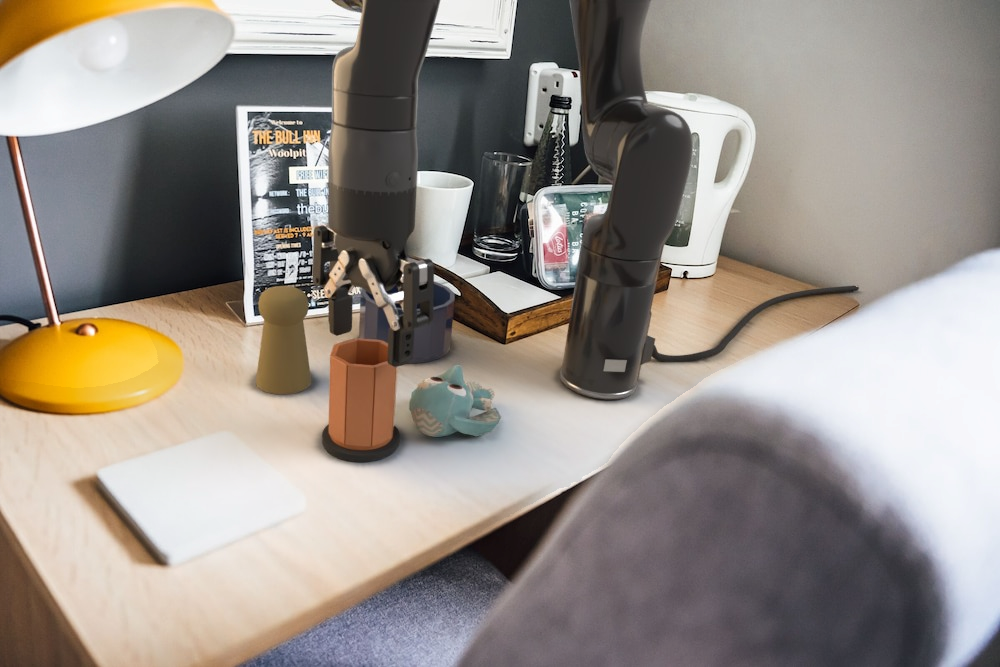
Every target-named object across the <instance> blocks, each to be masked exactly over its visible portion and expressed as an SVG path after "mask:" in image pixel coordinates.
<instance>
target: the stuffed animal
mask: <svg viewBox="0 0 1000 667" xmlns="http://www.w3.org/2000/svg"><path fill="white" fill-rule="evenodd" d="M494 397H495V391H494V390H493V388H491V387H483V386H482V385H481V384H480V383H478V382H477V383H476V382H475V381H473V380H470V381H467V382H465V380H464V371H463V367H462V365H460V364H455V365H453V366H451V367H450V368H449V369H447V370H446V371H445V372H443V373H442V374H439V375H437V376H430V377H428V378H425V379H423V380H421V382H420V383H418V384H417V386H416V388H415V389H413V390H412V391H411V396H410V399H409V403H408V410H409V411H410V414H411V417H412V420H413V423H414V425H415V427H416V429H418V430H419V431H420V432H421V433H422V434H424V435H426V436H429V437H434V438H440V437H447V436H450V435H452V434H455V433H457V432H459V433H461V434H464V435H470V436H474V437H479V436H482V435H486V434H488V433H491V432H493V430H494V429H495V428H496V427H497V425H498V424H500V422H501V420H502V416H501V414H500V412H499V410H498V409H497V408H496V407H494V408H493V402H492V400H493V399H494ZM472 409H476V410H478V411H483V412H481V413H478V414H477V415H474V416H471V417H470V415H471V413H472Z"/></svg>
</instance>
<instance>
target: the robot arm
mask: <svg viewBox="0 0 1000 667" xmlns="http://www.w3.org/2000/svg"><path fill="white" fill-rule="evenodd" d="M331 1H332V2H333V3H334V4H335V5H337V6H338V7H339V8H342V9H345V10H347V11H350V12H353V13H354V12H355V13H359V14H360V13H361V15H360V21H359V26H358V31H357V36H356V40H355V43H354V45H351V46H348V47H344V48H343V49H341V50H339V51H338V52H337V53H336V55H335V57H334V59H333V63H332V70H331V124H330V126H331V128H330V134H329V141H328V151H327V152H328V154H327V156H328V160H327V162H328V168H327V169H328V173H327V174H328V178H327V179H328V180H327V182H328V183H327V188H328V189H327V193H328V195H327V196H328V197H327V198H328V201H327V203H328V204H327V210H328V211H327V216H328V217H327V224H322V225H317V226H315V227H314V229H313V250H312V251H313V253H312V282H313V284H314V286H316V287H320V286H321V288H323V293H324V295H325V296H326V298H327V300H328V304H327V305H328V308H327V309H328V316H327V317H328V318H327V320H328V321H327V322H328V326H329V333H330V334H332V335H333V336H336V337H339V336H342V335H345V334H348V333H350V332H351V331H352V329H353V301H354V300H353V298H354V297H353V295H351V294H349V293H351V292H352V291H353V290H354V289H355V288H361V289H362V288H363V289H364V290H365V291H367V292H368V293H370V294H372V295H373V297H374V299H375V302H376V304H377V306H378V307H379V308H382V309H383V310H384V312H385V315H386V317H387V320H388V322H389V325H390V327H391V328H389V333H388V360H387V361H388V364H390V365H392V366H393V367H397V366H398V367H400V366H403V365H405V364H409V363H408V362H409V361H410V359H411V358H412V356H413V344H414V330H415V329H417V328H420V327H423V326H426V325H429V324H432V322H433V300H434V281H435V264H434V261H433V260H432V259H431V258H426V259H422V260H418V259H415V258H412V257H410V255H409V252H408V246H407V243H408V242H407V241H408V240H409V238H410V236H411V235H412V234H413V232H414V230H415V227H416V207H417V190H418V189H417V188H418V187H417V186H418V170H419V169H418V168H419V165H418V164H419V146H418V136H417V135H418V134H417V133H418V132H417V126H418V106H419V76H420V73H421V70H422V67H423V65H424V64H423V63H424V61H425V58H426V55H427V52H428V48H429V45H430V40H431V37H432V34H433V30H434V26H435V24H436V19H437V16H438V12H439V8H440V4H441V0H331ZM651 3H652V0H569V5H570V13H571V20H572V21H571V22H572V28H573V36H574V41H575V47H576V53H577V58H578V59H577V60H578V70H579V83H580V84H579V85H580V104H581V126H582V127H581V129H582V140H583V149H584V153H585V156H586V159H587V163H588V164H589V166H590V168H591V169H592V170H593V172H594V173H595V174H596V175H597V176H598V177H600V178H601V179H603V180H604V181H606V182H609V183H611V184H612V185H611V190H610V193H609V198H608V203H607V205H606V208H605V209H606V210H605V211H604V213H601V214H600V213H599V214H595V215H591V216H590V217H589V218H588V219H587V220H585V222H584V225H583V230H582V237H581V242H580V248H579V249H580V250H579V255H578V262H577V269H576V276H575V282H574V287H573V294H572V300H571V301H572V302H571V308H570V313H569V319H568V327H567V334H566V339H565V344H564V345H565V346H564V351H563V358H562V365H561V368H560V370H559V371H560V372H559V379H560V381H561V383H562V385H564V386H565V387H567V389H569V390H571V391H573V392H575V393H577V394H579V395H583V396H586V397H588V398H593V399H600V400H620V399H625V398H628V397H630V396H632V395H633V394H634V393H635V392H636V389H637V385H638V382H639V379H640V374H641V370H642V366H643V365H644V364H647V363H649V362H650V361H652V358H653V359H654V360H656V361H658V362H662V363H688V362H695V361H700V360H703V359H707V358H712V357H714V356H716V355H718V354H720V353H722V352H723V351H724V350H725V348H727V347H728V345H729V343H730V342H731V341H732V340H733V339H735V337H736V336H737V335H738V334H739V333H740V332H741V330H743V329H744V327H746V325H747V324H748V323H749V322H750V321H751V320H752V319H753V318H754V317H756V315H758V314H759V313H760V312H762V311H763V310H765V309H767V308H768V307H770V306H773V305H775V304H778V303H781V302H784V301H787V300H793V299H796V298H802V297H807V296H808V297H809V296H815V295H824V294H835V293H843V292H844V293H845V292H856V291H857V292H858V291H859V289H860V287H859V286H858V287H856V286H855V285H844V286H830V287H822V288H813V289H812V288H811V289H805V290H799V291H793V292H790V293H785V294H782V295H779V296H775V297H773V298H770V299H768V300H766V301H764V302H762V303H761V304H759V305H757V306H756V307H754V308H752V309H751V310H750V311H749V312H747V314H746V315H745V316H743V318H742V319H740V321H738V322H737V323H736V324H735V326H734V327H733V328H732V329H731V330H730V331H729V332H728V333H727V334H726V335H725V336H724V337H723V338H722V339H721V341H720V342H719V343H718V344H717V345H716V346H715V347H712V348H710V349H707V350H702V351H699V352H694V353H690V354H681V355H671V354H670V355H669V354H663V353H659V352H658V350H657V346H656V345H655V343H656V338H655V337H653V336H651V335H649V330H650V324H651V319H652V307H653V302H654V296H655V292H656V288H657V281H658V276H659V271H660V266H661V262H662V255H663V251H664V248H665V244H666V242H667V241H668V239H669V237H670V236H671V235H672V233H673V231H674V229H675V227H676V223H677V220H678V217H679V213H680V209H681V205H682V202H683V198H684V193H685V190H686V186H687V182H688V178H689V174H690V169H691V165H692V159H693V151H694V150H693V142H694V141H693V135H692V131H691V128H690V125H689V123H688V122H687V120H686V119H685V118H684V117H683V116H682V115H681V114H680V113H677V112H675V111H673V110H670V109H667V108H665V107H661V106H657V105H654V104H651V103H649V102H648V99H647V94H646V88H645V84H644V75H643V67H642V54H641V51H642V48H641V47H642V37H643V32H644V28H645V24H646V20H647V16H648V13H649V10H650V6H651ZM327 263H329V265H328V266H329V269H328V270H326V271H325V266H326V264H327ZM395 285H397V287H398V290H399V292H398V293H394V294H388V293H386V291H389V290H391V289H392V288H393V287H394V286H395ZM396 303H399V304H400V305H401V308H402V310H403V314H402V315H399V313H398V311H397V308H396V306H395V304H396ZM419 303H420V312H417V305H418V304H419Z"/></svg>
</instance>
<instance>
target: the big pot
mask: <svg viewBox="0 0 1000 667" xmlns="http://www.w3.org/2000/svg"><path fill="white" fill-rule="evenodd" d="M398 292H399V290H398V287H397V285H395V286H394V287H393V288H392V289H391V290H389V291H386V293H388V294H394V293H398ZM455 300H456V298H455V292H454V291H453V290H452V289H451V288H450V287H448V286H446V285H445V284H442V283H439V282H437V281H435V280H434V300H433V322H432V324H429V325H426V326H423V327H420V328H417V329H415V330H414V344H413V356H412V358H411V359H410V361H409V362H408V363H407V364H418V363H419V364H420V363H427V362H432V361H435V360H438V359H441V358H442V357H445V356H446V355H447V354H448V352H449V351H450V349H451V344H452V332H453V322H454V312H455ZM359 301H360V302H359V325H358V338H361V339H374V340H381V341H384V342H386V343H388V333H389V328H391V327H390V325H389V322H388V320H387V317H386V315H385V312H384V310H383V309H382V308H379V307H378V306H377V304H376V302H375V299H374V297H373V295H372V294H370V293H368V292H367V291H365V290H364V289H363V288H362V287H361V290H360V300H359ZM395 306H396V308H397V311H398V313H399V315H402V314H403V310H402V308H401V305H400V304H399V303H396V304H395ZM417 312H420V303H419V304H418V305H417Z"/></svg>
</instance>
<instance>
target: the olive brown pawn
mask: <svg viewBox="0 0 1000 667" xmlns="http://www.w3.org/2000/svg"><path fill="white" fill-rule="evenodd" d="M309 307H310V306H309V299H308V296H307V295H306V293H305V292H304V290H302V289H299V288H298V287H294V286H290V285H289V286H288V285H277V286H271V287H269V288H267V289H265V290H263V291H262V292H261V294H260V296H259V299H258V312H259V315H260V317H262V319H263V325H262V332H261V340H260V347H259V353H258V354H259V355H258V362H257V370H256V377H255V385H256V386H257V388H258V389H259V390H261V391H263V392H264V393H265V392H266V393H268V394H273V395H291V394H296V393H300V392H302V391H305V390H307V389H308V388H309V387H310V386H311V384H312V376H311V368H310V360H309V353H308V346H307V339H306V331H305V324H304V323H305V322H304V319H305V318H306V316H307V315H308V312H309Z"/></svg>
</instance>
